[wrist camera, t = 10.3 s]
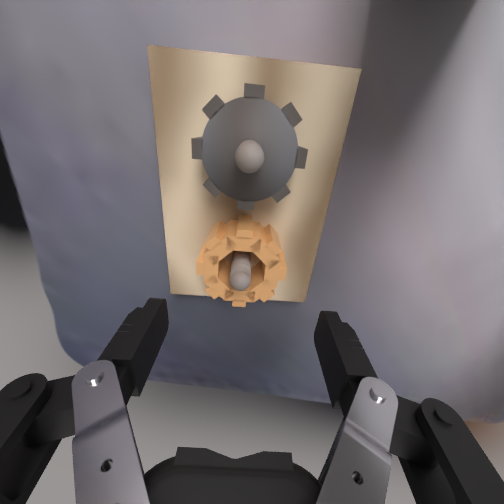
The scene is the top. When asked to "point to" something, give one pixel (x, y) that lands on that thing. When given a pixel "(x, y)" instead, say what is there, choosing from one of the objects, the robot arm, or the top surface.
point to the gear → (249, 240)
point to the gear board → (246, 155)
